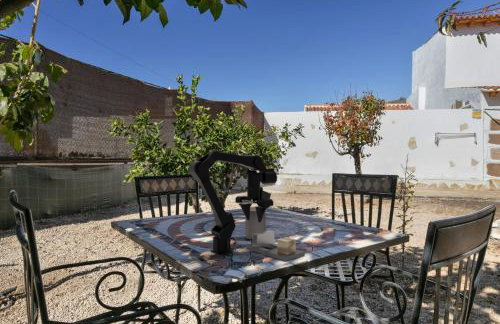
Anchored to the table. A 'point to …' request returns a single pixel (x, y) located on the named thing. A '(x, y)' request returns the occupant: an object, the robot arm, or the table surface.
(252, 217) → the pillar candle
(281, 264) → the table surface
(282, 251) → the block
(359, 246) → the table surface
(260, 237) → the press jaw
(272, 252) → the press bed
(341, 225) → the table surface
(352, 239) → the table surface
